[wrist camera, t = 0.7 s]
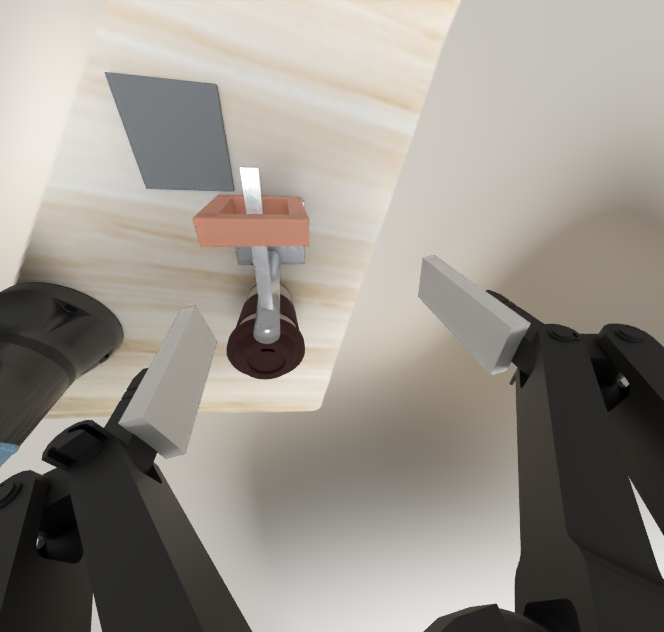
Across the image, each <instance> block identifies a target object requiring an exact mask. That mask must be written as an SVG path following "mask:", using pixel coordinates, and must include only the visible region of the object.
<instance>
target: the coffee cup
mask: <svg viewBox="0 0 664 632" xmlns="http://www.w3.org/2000/svg"><path fill="white" fill-rule="evenodd" d="M257 303H258V290H257V285H256V286H255V287H254V288H253V289H252V290H251V291H250V293H249V296H248V299H247V301H246V302H245V304H244V306H243V309H242V312H241V314H240V317H239V320H238V323H237V326H236V328H235V329H234V331H233V332H232V333H231V335H230V337H229V340H228V344H227V356H228V359H229V361H230V362H231V364H232V365H233V366H234V367H235V368H236V369H237V370H239V371H240V372H242V373H244V374H247V375H249V376H251V377H254V378H257V379H273V378H277V377H280V376H282V375H284V374H286V373H288V372H290V371H292V370H293V369H295V368H296V367H297V366H298V365H299V364H300V362H301V361H302V359H303V357H304V354H305V345H304V339H303V336H302V334H301V332H300V331H299V327H298V323H297V318H296V313H295V309H294V306H293V304H292V300H291V296H290V294H289V292H288V291H287V289H286V288H285V287H283V286H282V285H280V337H279V339H278V340H277V341H275V342H273V343H270V344H264V343H260V342H258V341H257V340H256V339H255V338H254V335H253V333H254V325H255V318H256V310H257Z"/></svg>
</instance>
